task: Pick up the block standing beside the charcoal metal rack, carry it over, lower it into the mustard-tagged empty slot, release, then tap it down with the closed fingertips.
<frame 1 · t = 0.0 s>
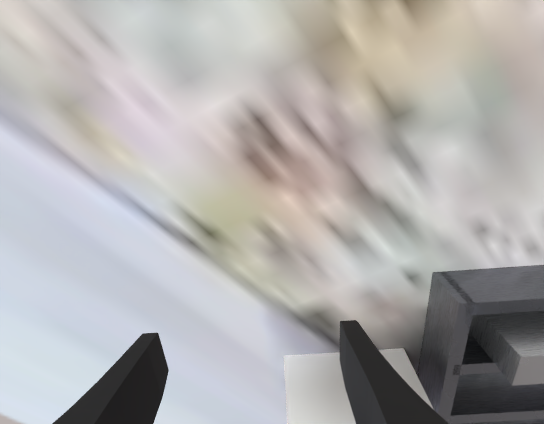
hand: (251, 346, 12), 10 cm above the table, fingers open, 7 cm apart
rack: (510, 352, 26), on the table
block: (342, 361, 27), on the table
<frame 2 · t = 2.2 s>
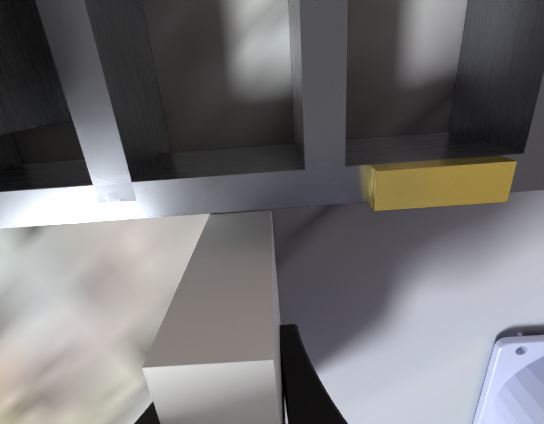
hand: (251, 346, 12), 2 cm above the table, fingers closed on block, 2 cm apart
block: (253, 314, 14), on the table, touching gripper
when the fingers open (4 cm above the table, at t = 6.3 s): block drops 1 cm, resting in rack.
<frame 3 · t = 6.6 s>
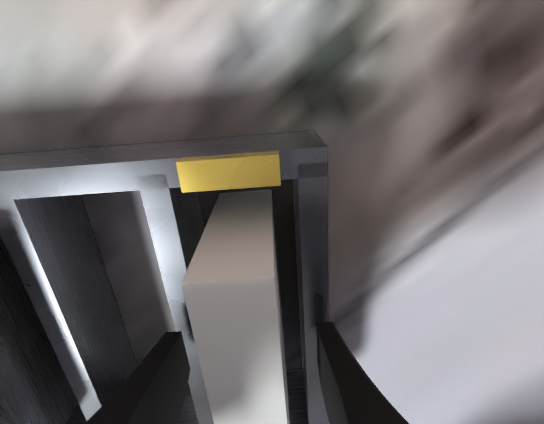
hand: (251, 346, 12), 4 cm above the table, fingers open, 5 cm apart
rack: (153, 288, 16), on the table
block: (256, 280, 16), resting in rack
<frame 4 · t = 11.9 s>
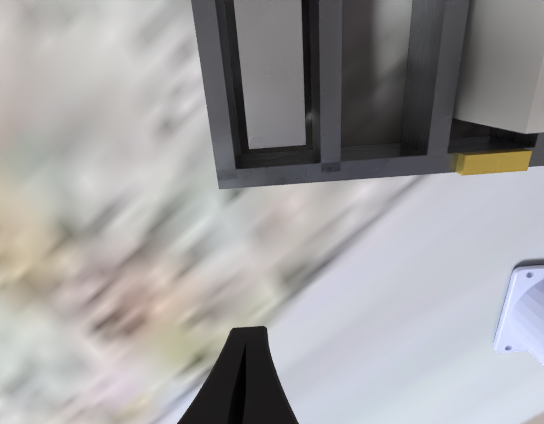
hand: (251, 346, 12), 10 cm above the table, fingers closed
rack: (369, 23, 17), on the table
block: (471, 15, 17), resting in rack
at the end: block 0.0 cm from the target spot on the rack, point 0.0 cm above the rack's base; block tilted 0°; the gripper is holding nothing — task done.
